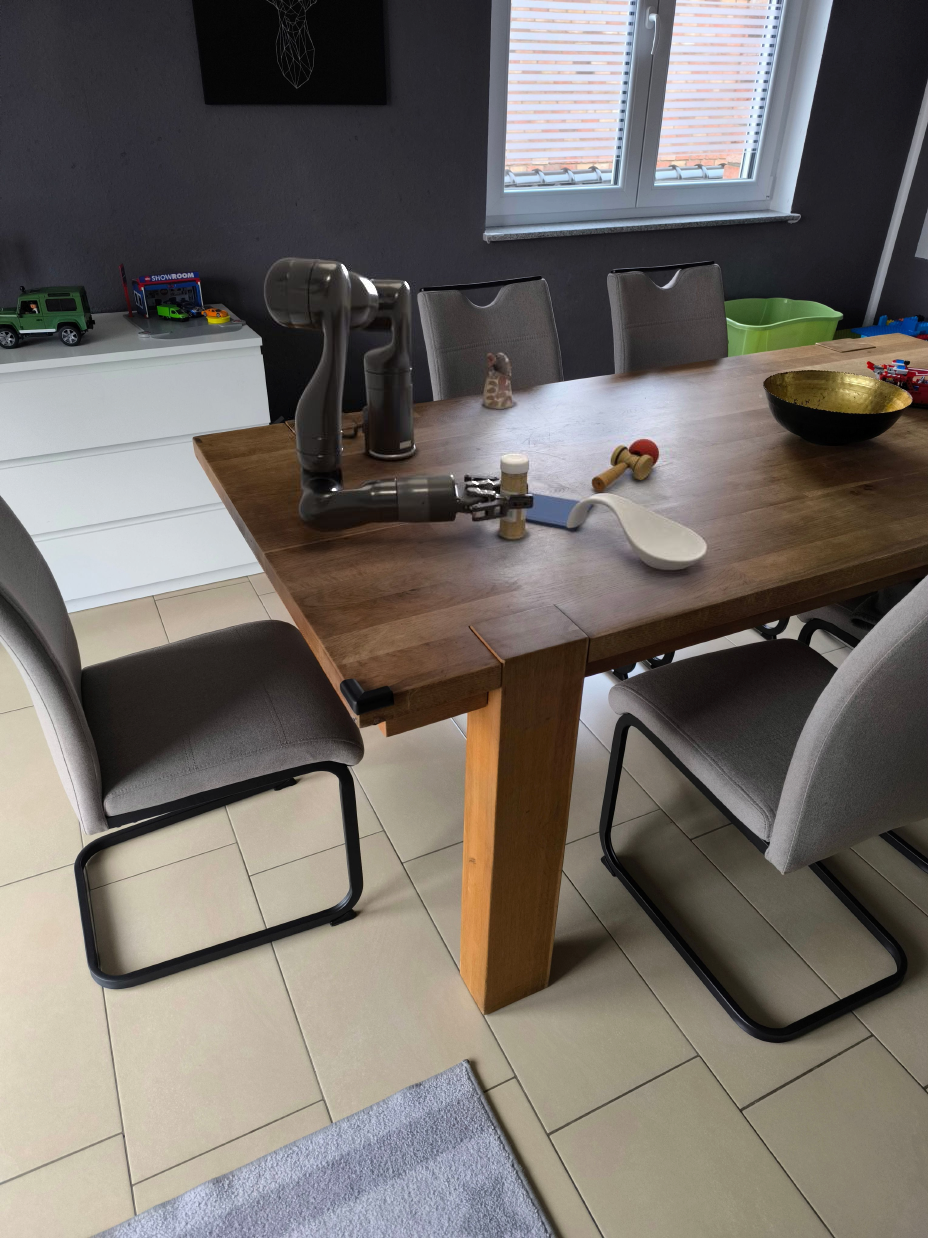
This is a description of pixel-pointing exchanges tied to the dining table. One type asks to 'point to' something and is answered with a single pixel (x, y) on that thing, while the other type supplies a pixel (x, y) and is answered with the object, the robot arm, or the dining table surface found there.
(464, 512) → the robot arm
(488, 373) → the figurine
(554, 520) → the blue flat rectangular slab
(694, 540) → the spoon rest
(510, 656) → the dining table surface
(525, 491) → the spice jar
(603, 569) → the dining table surface
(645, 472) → the kendama
